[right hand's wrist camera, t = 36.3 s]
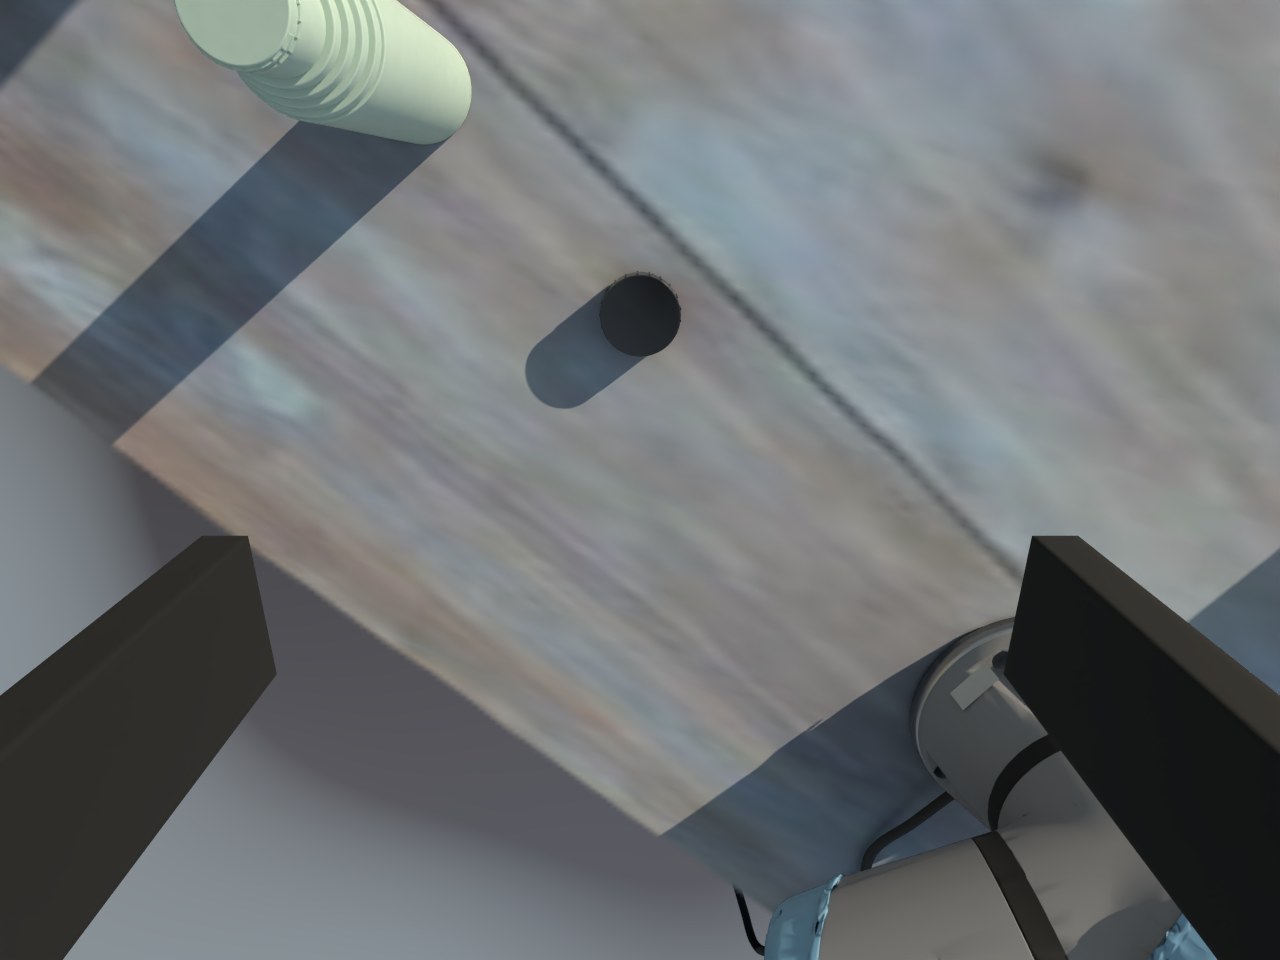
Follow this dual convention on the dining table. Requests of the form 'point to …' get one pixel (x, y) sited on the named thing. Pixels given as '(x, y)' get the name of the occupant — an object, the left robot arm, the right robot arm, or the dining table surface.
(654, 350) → the cap
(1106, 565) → the right robot arm
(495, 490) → the dining table surface
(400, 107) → the bottle
